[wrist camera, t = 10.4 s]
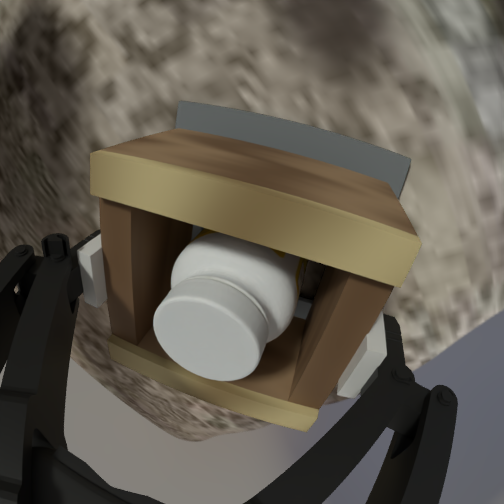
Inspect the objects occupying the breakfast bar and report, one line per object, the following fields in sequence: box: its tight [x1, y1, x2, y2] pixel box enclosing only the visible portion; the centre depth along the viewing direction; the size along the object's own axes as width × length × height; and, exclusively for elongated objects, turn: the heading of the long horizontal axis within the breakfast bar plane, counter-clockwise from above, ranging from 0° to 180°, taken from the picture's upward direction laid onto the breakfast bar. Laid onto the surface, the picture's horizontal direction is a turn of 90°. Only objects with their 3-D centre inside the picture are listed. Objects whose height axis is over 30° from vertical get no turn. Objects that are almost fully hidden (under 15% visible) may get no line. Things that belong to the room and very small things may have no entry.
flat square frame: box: [175, 101, 411, 320], centre depth 18 cm, size 13×13×1 cm
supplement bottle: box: [153, 228, 308, 381], centre depth 14 cm, size 5×5×10 cm
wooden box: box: [90, 128, 422, 432], centre depth 14 cm, size 10×10×6 cm
